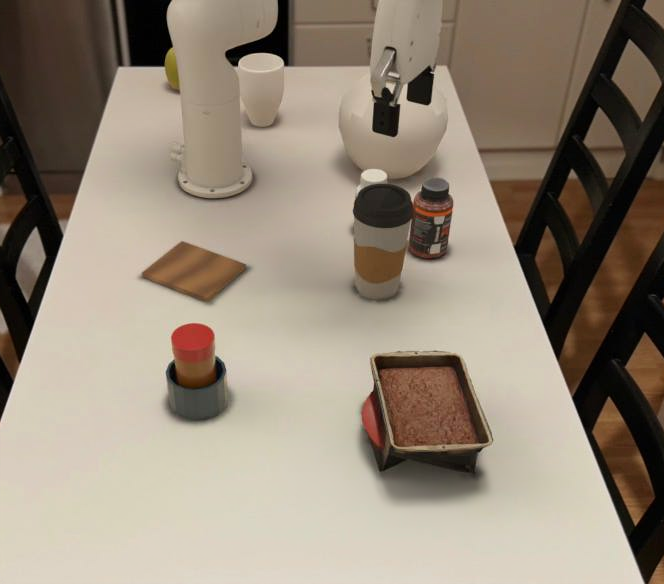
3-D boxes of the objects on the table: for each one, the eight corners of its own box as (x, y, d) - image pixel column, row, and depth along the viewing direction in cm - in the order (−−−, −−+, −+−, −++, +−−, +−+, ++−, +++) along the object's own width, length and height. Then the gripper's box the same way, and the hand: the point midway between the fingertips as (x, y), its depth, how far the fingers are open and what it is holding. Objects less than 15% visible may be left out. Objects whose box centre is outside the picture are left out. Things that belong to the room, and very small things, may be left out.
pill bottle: (379, 219, 148) (383, 163, 141) (393, 236, 144) (398, 180, 137) (348, 225, 146) (351, 169, 140) (361, 242, 143) (365, 186, 136)
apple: (159, 92, 179) (159, 37, 175) (170, 87, 186) (170, 34, 182) (199, 95, 178) (199, 40, 174) (208, 90, 185) (209, 37, 181)
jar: (169, 402, 116) (162, 340, 109) (193, 379, 119) (188, 318, 112) (203, 417, 114) (197, 355, 107) (226, 393, 117) (223, 332, 110)
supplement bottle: (445, 262, 139) (454, 196, 131) (406, 257, 140) (413, 192, 132) (448, 240, 143) (457, 175, 135) (410, 236, 144) (417, 171, 136)
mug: (285, 131, 169) (284, 71, 162) (240, 132, 169) (237, 71, 161) (283, 102, 178) (283, 44, 170) (240, 103, 178) (238, 44, 170)
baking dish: (469, 407, 118) (472, 341, 113) (495, 496, 104) (500, 425, 98) (358, 415, 119) (355, 349, 113) (368, 504, 104) (366, 433, 99)
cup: (157, 407, 116) (153, 377, 112) (192, 374, 120) (189, 344, 117) (205, 428, 113) (202, 399, 110) (239, 394, 118) (237, 364, 114)
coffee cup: (411, 277, 136) (421, 187, 126) (397, 309, 130) (406, 218, 120) (357, 266, 138) (362, 177, 128) (341, 298, 132) (345, 207, 122)
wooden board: (142, 277, 136) (141, 272, 136) (182, 245, 142) (181, 240, 142) (207, 302, 132) (207, 298, 131) (246, 268, 138) (246, 264, 137)
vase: (332, 142, 166) (339, -32, 146) (432, 140, 167) (453, -33, 146) (340, 194, 153) (349, 11, 133) (449, 191, 154) (474, 9, 133)
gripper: (416, -56, 108) (404, 85, 120) (348, -11, 97) (342, 139, 109) (475, -46, 105) (457, 97, 117) (413, 2, 94) (399, 154, 106)
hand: (402, 117), depth 113 cm, fingers open, 9 cm apart
